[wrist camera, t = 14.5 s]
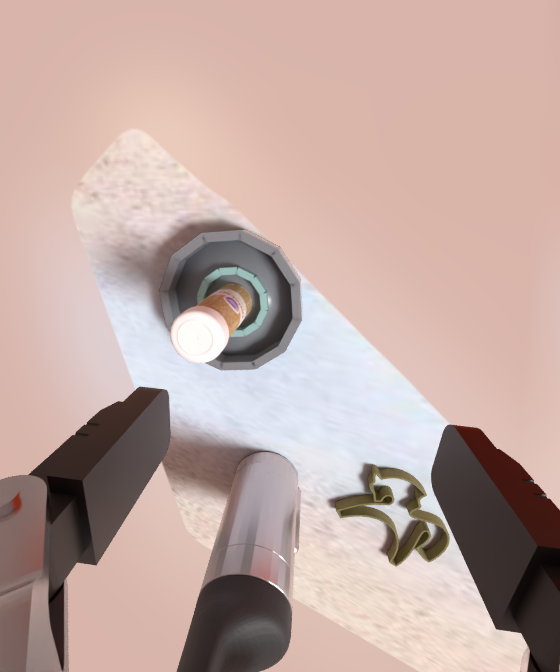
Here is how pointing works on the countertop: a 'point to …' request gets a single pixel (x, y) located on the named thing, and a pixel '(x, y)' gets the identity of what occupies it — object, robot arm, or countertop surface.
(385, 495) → the cookie cutter
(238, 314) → the sprinkles bottle
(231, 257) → the grey ring dish
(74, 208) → the countertop surface
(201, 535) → the countertop surface
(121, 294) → the countertop surface
